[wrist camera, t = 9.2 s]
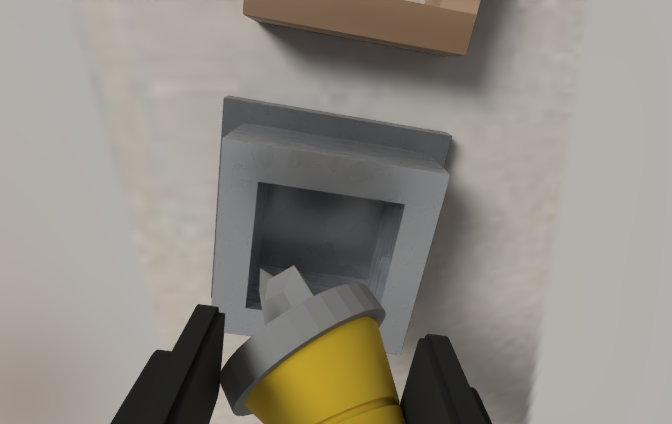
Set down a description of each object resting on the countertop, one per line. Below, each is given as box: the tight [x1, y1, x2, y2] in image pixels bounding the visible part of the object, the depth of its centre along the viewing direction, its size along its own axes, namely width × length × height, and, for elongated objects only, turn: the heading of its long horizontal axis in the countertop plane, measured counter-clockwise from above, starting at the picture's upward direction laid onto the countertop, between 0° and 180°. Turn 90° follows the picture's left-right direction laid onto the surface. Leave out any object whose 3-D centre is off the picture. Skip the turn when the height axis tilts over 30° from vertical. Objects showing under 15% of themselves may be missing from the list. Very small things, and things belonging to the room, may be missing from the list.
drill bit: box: [220, 265, 406, 424], centre depth 11 cm, size 5×5×10 cm
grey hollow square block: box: [211, 96, 452, 355], centre depth 19 cm, size 11×11×5 cm
